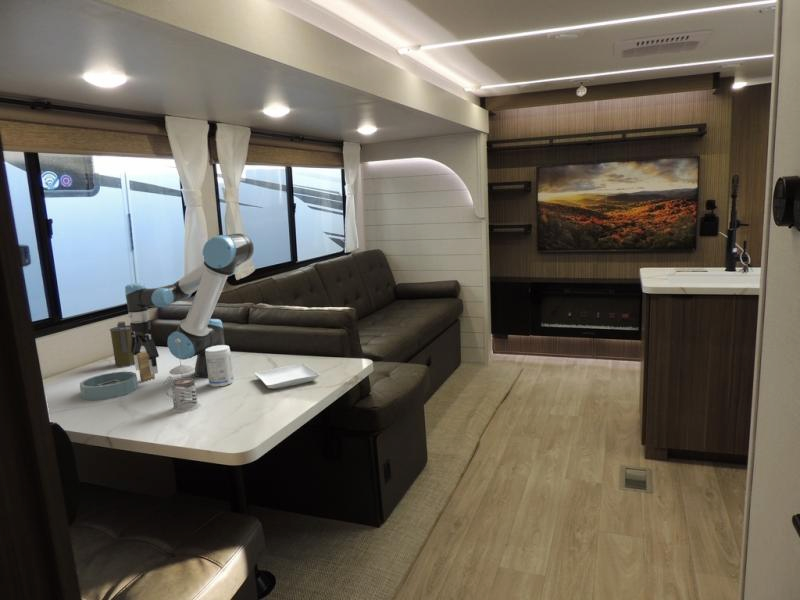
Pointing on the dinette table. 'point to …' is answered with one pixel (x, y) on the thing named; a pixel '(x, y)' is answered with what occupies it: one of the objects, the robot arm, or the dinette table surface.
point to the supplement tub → (219, 365)
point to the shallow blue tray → (108, 385)
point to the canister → (122, 345)
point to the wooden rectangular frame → (144, 366)
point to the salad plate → (287, 376)
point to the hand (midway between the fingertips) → (146, 371)
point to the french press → (187, 385)
